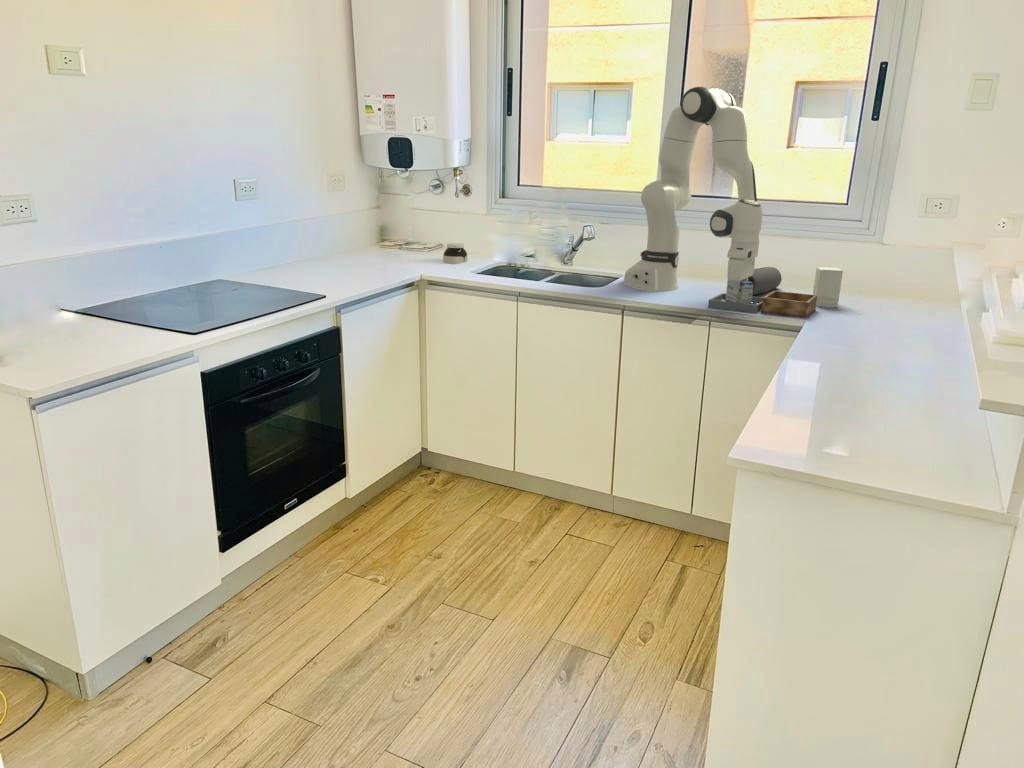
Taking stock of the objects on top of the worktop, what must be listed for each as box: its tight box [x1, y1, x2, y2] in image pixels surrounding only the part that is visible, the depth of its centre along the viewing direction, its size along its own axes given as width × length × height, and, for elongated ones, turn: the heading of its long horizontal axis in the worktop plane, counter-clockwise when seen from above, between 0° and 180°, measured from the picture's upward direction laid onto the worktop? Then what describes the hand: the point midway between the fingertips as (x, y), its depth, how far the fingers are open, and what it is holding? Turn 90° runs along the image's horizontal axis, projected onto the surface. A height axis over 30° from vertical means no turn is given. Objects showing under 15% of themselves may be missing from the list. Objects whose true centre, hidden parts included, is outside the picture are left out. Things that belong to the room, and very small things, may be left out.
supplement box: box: [812, 266, 844, 308], centre depth 257 cm, size 7×7×13 cm
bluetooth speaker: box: [748, 266, 783, 297], centre depth 272 cm, size 23×9×10 cm, turn 139°
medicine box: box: [724, 280, 753, 304], centre depth 252 cm, size 8×4×9 cm, turn 27°
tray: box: [707, 292, 763, 314], centre depth 252 cm, size 16×16×2 cm
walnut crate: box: [760, 290, 817, 319], centre depth 246 cm, size 14×16×5 cm
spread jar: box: [442, 242, 468, 265], centre depth 311 cm, size 12×11×12 cm
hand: (739, 292), depth 251 cm, fingers closed on medicine box, 6 cm apart
